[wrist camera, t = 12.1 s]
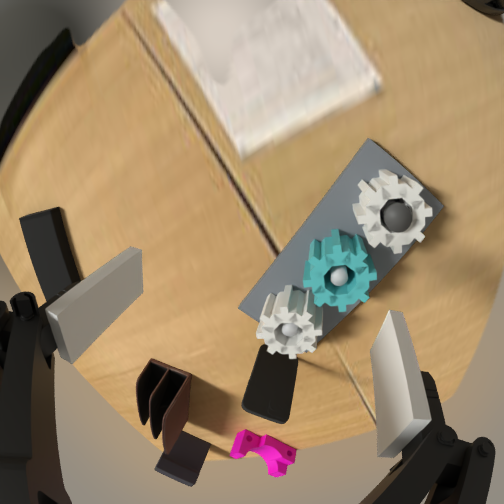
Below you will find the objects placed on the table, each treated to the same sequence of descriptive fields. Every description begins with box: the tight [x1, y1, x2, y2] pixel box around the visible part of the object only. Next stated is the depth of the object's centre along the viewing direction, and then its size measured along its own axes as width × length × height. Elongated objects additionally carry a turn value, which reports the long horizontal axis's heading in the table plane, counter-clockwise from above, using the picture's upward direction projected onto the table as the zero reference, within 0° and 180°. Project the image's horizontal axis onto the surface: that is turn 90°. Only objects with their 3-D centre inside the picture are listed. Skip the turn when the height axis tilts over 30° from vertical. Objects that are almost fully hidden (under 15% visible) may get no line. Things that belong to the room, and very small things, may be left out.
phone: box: [242, 344, 298, 424], centre depth 44 cm, size 7×1×15 cm, turn 69°
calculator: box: [155, 431, 211, 487], centre depth 64 cm, size 11×4×15 cm, turn 66°
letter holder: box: [136, 358, 192, 455], centre depth 57 cm, size 10×20×14 cm, turn 169°
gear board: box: [238, 138, 444, 359], centre depth 38 cm, size 32×14×9 cm, turn 147°
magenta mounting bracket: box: [230, 429, 296, 477], centre depth 61 cm, size 15×6×8 cm, turn 52°
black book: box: [19, 207, 81, 301], centre depth 55 cm, size 14×23×3 cm, turn 8°
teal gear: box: [303, 229, 377, 312], centre depth 38 cm, size 9×9×6 cm
